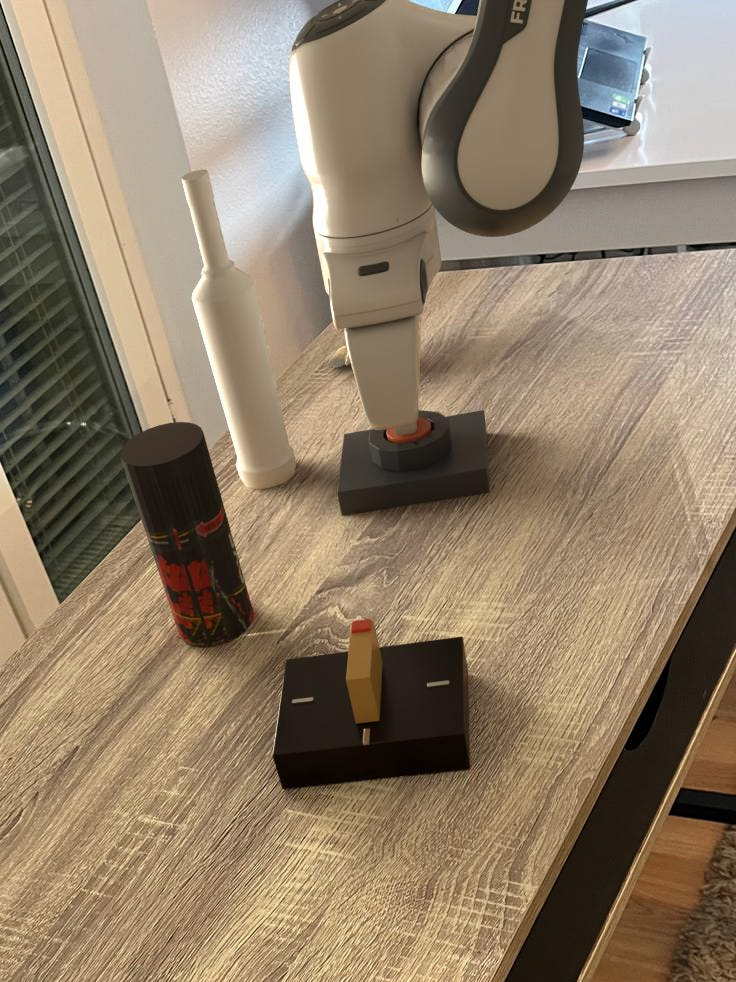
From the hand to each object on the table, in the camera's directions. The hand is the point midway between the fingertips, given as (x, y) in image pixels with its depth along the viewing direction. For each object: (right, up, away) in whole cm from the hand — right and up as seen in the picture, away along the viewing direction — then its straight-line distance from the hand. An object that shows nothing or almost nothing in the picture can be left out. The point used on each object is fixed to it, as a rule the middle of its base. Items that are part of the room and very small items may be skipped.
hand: (407, 426), depth 104 cm
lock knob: (-5, -24, -22) cm, 33 cm away
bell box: (+1, -3, +3) cm, 4 cm away
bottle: (-11, -2, +9) cm, 14 cm away
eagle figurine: (-2, +12, +19) cm, 23 cm away
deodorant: (-15, -17, -6) cm, 24 cm away
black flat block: (-4, -27, -20) cm, 34 cm away
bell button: (0, -1, +1) cm, 2 cm away
